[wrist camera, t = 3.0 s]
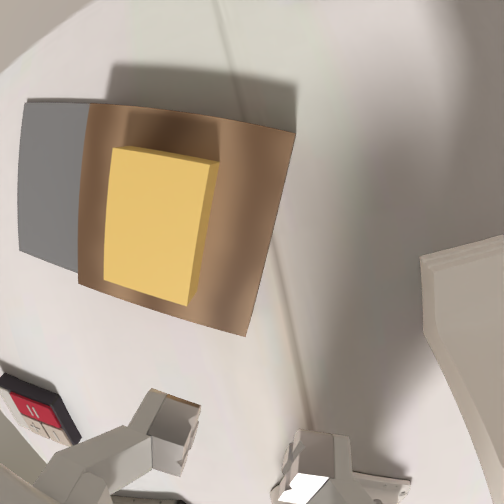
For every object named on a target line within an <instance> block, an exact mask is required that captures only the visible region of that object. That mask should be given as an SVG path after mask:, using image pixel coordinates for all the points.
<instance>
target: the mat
mask: <svg viewBox="0 0 504 504" xmlns="http://www.w3.org/2000/svg"><path fill="white" fill-rule="evenodd" d="M89 106H90V104H85V103H25V104H24V111H23V119H22V127H21V137H20V148H19V163H18V193H17V205H18V236H19V251H22V252H24V253H27V254H29V255H32V256H34V257H37V258H39V259H42V260H44V261H47V262H50V263H52V264H55V265H57V266H60V267H63V268H65V269H68V270H71V271H73V272H76V273H78V209H79V191H80V177H81V166H82V156H83V147H84V139H85V132H86V125H87V118H88V112H89Z"/></svg>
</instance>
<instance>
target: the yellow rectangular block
mask: <svg viewBox="0 0 504 504" xmlns="http://www.w3.org/2000/svg"><path fill="white" fill-rule="evenodd" d="M219 164H220V162H217V161H212V160H207V159H202V158H197V157H192V156H187V155H181V154H176V153H170V152H165V151H159V150H153V149H147V148H140V147H134V146H125V147H116V148H113V150H112V158H111V166H110V175H109V184H108V195H107V207H106V222H105V241H104V280H106V281H109V282H112V283H115V284H118V285H121V286H124V287H127V288H130V289H133V290H136V291H139V292H142V293H145V294H148V295H151V296H154V297H158V298H161V299H164V300H167V301H171V302H174V303H177V304H180V305H184V306H187V305H188V304H189V302H190V301H191V299H192V298H193V296H194V295H195V293H196V292H197V288H198V282H199V276H200V269H201V263H202V257H203V251H204V245H205V239H206V234H207V228H208V222H209V217H210V211H211V206H212V200H213V195H214V189H215V184H216V179H217V174H218V169H219Z"/></svg>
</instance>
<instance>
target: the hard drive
mask: <svg viewBox="0 0 504 504" xmlns="http://www.w3.org/2000/svg"><path fill="white" fill-rule="evenodd" d="M110 496H111V499H112V502H113V504H186V503H185V502H183V501H182V500H160V499H144V498H132V497H122V496H114V495H110Z"/></svg>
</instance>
